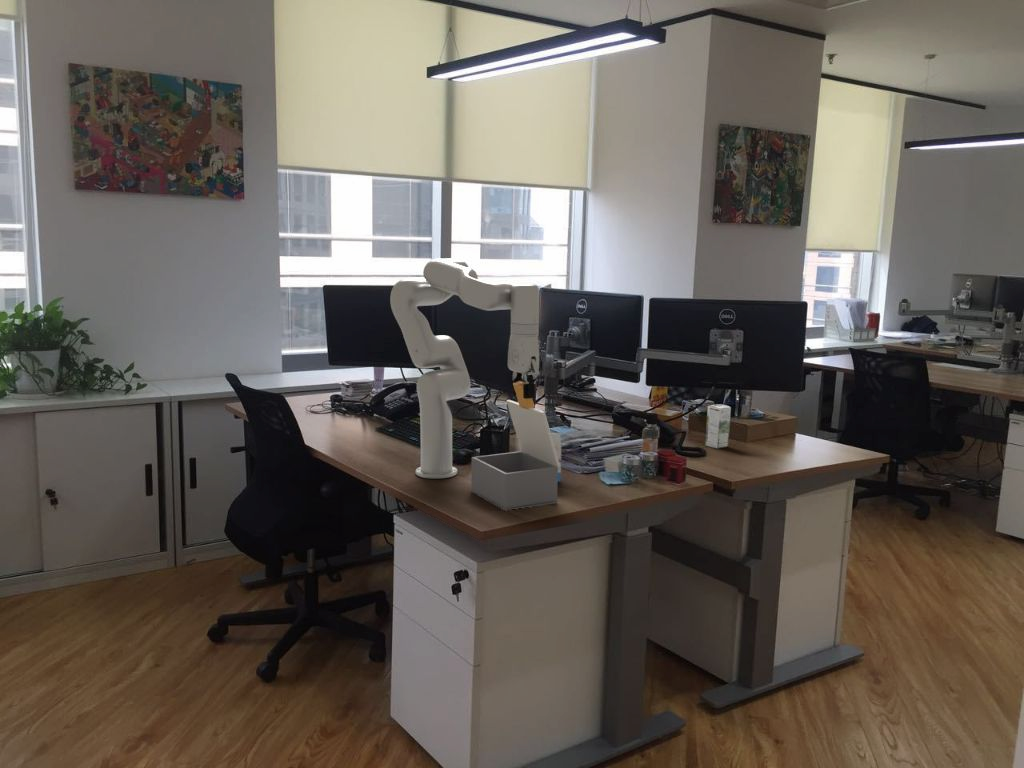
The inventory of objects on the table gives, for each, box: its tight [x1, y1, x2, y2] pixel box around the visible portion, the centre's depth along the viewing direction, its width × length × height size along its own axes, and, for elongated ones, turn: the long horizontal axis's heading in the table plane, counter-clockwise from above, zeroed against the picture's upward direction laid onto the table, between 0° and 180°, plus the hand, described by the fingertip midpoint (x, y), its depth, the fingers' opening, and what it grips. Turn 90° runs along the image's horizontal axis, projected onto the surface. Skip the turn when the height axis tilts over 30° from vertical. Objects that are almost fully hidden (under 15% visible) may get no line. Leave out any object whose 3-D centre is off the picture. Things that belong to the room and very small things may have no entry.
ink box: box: [531, 432, 562, 483], centre depth 252 cm, size 8×5×15 cm, turn 96°
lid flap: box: [506, 381, 560, 467], centre depth 235 cm, size 20×22×2 cm
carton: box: [470, 450, 559, 512], centre depth 235 cm, size 20×16×10 cm
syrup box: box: [704, 403, 732, 449], centre depth 297 cm, size 6×6×14 cm
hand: (523, 395), depth 233 cm, fingers closed on lid flap, 5 cm apart
